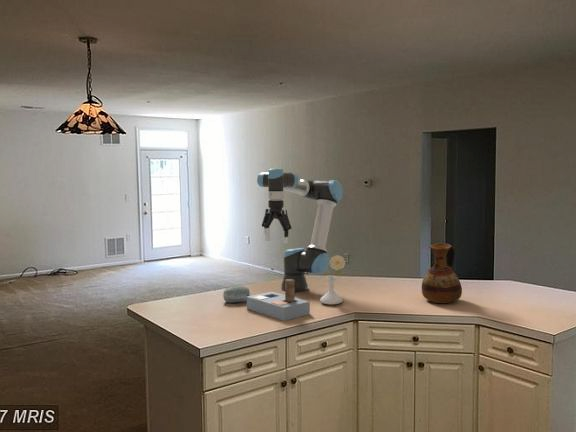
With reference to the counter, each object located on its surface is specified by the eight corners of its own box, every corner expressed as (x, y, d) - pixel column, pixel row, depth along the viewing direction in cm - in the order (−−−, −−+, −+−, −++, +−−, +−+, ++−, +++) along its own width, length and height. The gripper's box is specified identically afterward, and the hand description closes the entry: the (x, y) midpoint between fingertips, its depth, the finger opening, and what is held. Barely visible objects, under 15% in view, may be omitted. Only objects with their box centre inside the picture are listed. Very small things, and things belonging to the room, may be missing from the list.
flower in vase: (317, 305, 257) (317, 256, 255) (323, 299, 267) (323, 252, 265) (342, 307, 252) (342, 257, 250) (348, 302, 263) (348, 253, 261)
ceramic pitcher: (414, 301, 263) (415, 243, 261) (432, 294, 278) (433, 239, 275) (450, 308, 250) (451, 247, 247) (467, 300, 265) (469, 242, 262)
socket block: (246, 308, 251) (246, 296, 251) (271, 302, 262) (271, 290, 261) (283, 320, 230) (283, 307, 230) (309, 314, 241) (309, 300, 240)
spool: (250, 292, 272) (246, 278, 266) (252, 304, 264) (248, 290, 258) (225, 299, 270) (220, 285, 265) (227, 311, 263) (222, 297, 257)
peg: (283, 313, 243) (283, 280, 241) (290, 311, 245) (290, 278, 244) (289, 315, 239) (289, 281, 238) (296, 313, 242) (296, 280, 241)
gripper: (254, 199, 261) (255, 240, 263) (286, 201, 243) (287, 245, 244) (266, 198, 266) (266, 239, 268) (298, 200, 247) (298, 244, 249)
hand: (276, 242), depth 256 cm, fingers open, 13 cm apart
